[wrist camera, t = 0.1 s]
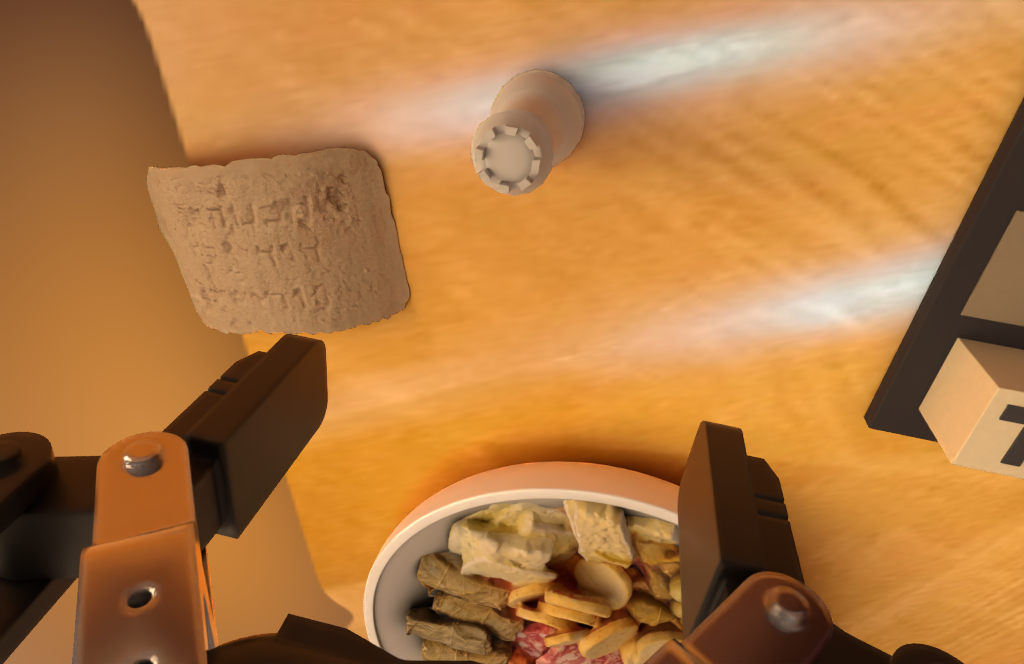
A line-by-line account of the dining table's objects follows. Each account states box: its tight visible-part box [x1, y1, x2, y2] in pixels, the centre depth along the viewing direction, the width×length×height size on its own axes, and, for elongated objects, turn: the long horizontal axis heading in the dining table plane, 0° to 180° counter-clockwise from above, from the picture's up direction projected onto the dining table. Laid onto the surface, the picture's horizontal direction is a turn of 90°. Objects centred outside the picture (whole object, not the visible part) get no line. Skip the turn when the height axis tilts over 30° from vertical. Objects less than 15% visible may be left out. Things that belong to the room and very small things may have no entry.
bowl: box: [363, 461, 683, 664], centre depth 43 cm, size 30×30×8 cm
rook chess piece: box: [471, 70, 585, 196], centre depth 28 cm, size 4×4×8 cm
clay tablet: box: [146, 147, 410, 335], centre depth 36 cm, size 14×10×3 cm
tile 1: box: [919, 338, 1024, 479], centre depth 30 cm, size 4×4×4 cm
